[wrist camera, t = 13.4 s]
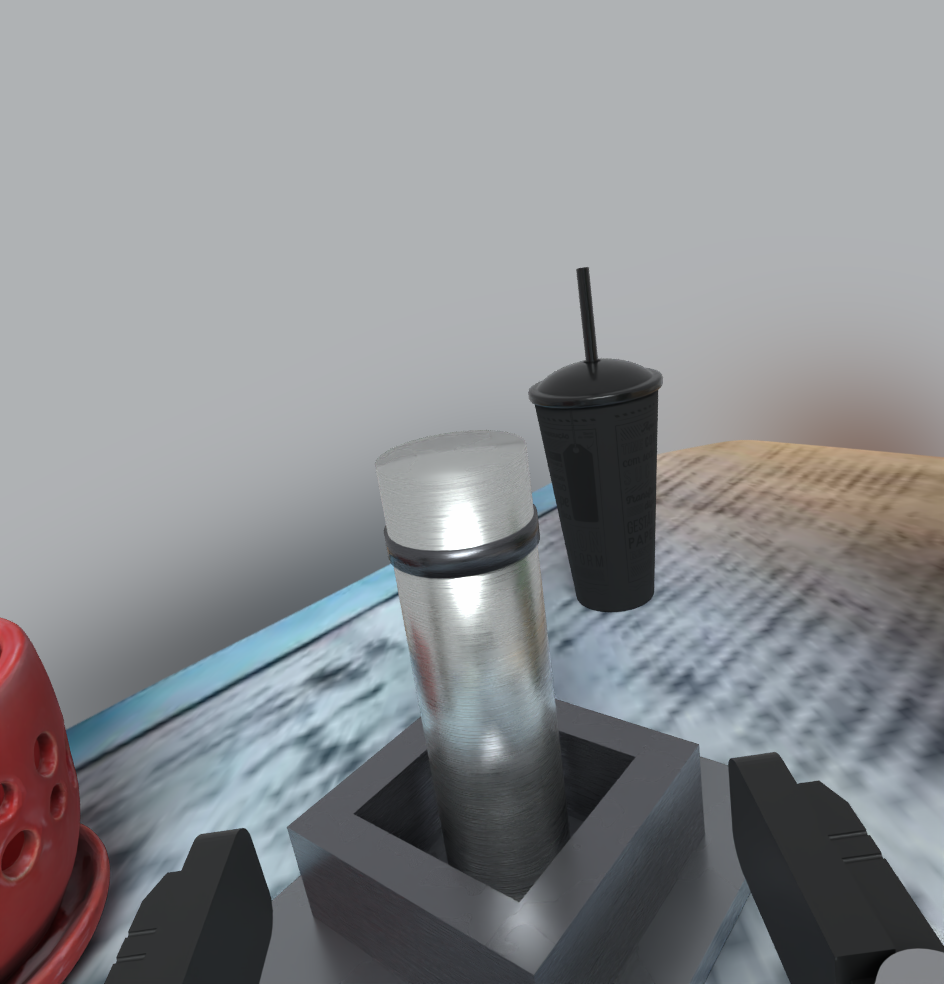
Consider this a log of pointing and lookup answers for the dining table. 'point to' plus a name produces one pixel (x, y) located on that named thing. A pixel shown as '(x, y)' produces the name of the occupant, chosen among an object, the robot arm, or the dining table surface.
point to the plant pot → (41, 829)
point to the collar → (551, 900)
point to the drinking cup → (603, 468)
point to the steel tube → (479, 649)
